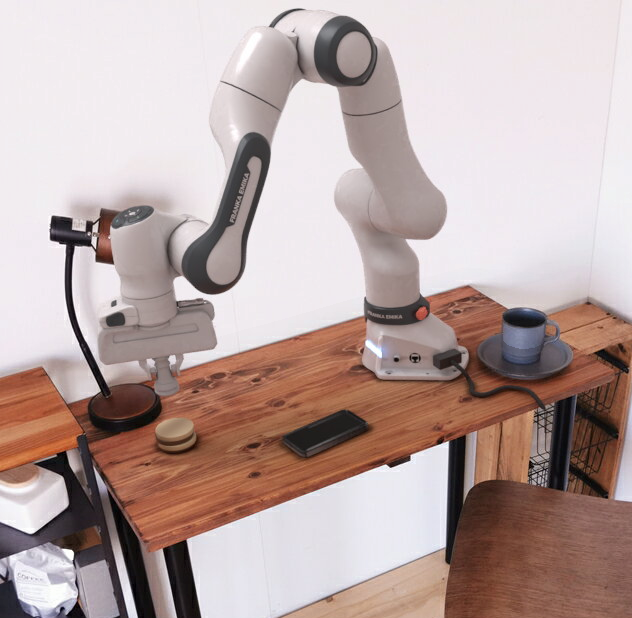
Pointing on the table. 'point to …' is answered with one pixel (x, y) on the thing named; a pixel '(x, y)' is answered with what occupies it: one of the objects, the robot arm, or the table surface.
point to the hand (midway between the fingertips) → (164, 377)
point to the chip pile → (175, 435)
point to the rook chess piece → (164, 378)
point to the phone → (325, 433)
